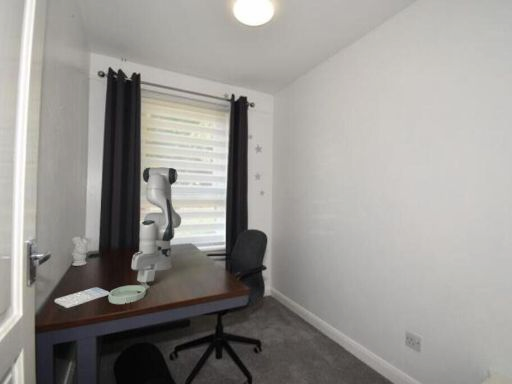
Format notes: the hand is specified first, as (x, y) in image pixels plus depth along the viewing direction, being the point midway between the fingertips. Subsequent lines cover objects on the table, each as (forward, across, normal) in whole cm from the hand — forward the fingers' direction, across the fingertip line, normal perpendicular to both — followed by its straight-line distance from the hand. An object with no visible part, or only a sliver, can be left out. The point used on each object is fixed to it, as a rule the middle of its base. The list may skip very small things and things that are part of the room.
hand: (147, 273), depth 144 cm
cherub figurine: (+9, +18, +77) cm, 80 cm away
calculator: (+9, -24, +19) cm, 31 cm away
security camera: (+8, -3, 0) cm, 8 cm away
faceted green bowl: (+8, -15, -1) cm, 17 cm away
